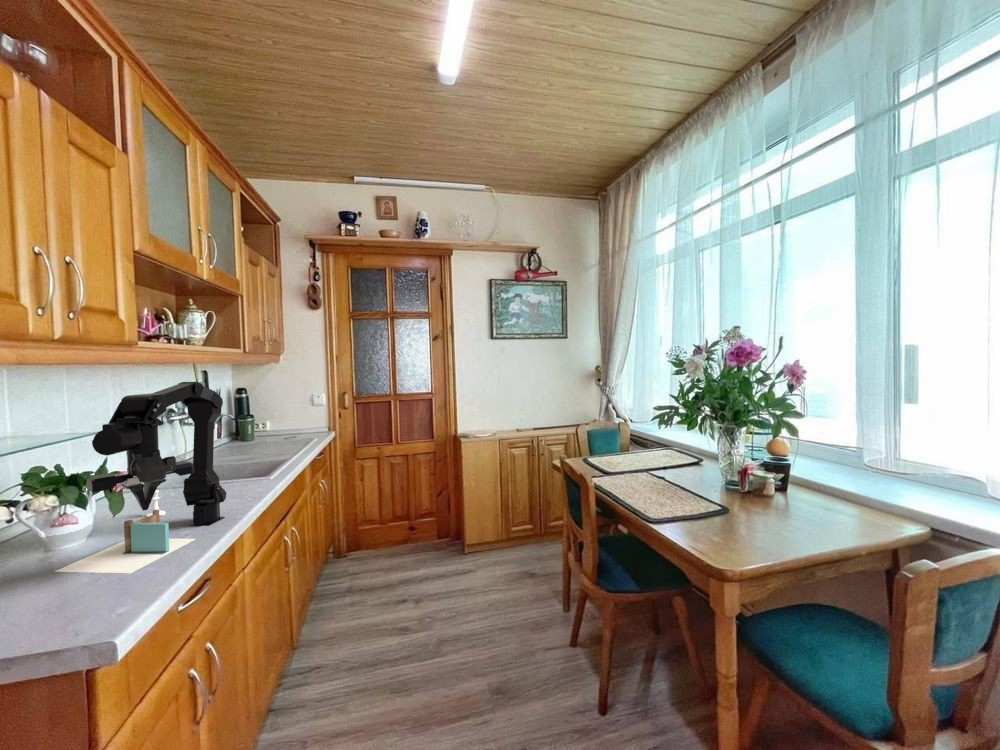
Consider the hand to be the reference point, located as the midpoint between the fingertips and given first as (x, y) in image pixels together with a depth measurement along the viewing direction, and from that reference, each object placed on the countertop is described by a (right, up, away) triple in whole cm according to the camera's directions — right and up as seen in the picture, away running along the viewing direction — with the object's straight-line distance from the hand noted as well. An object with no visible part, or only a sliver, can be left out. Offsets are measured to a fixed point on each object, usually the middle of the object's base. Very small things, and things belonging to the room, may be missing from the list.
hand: (145, 509), depth 96 cm
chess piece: (-25, -13, +31) cm, 42 cm away
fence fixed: (-8, -12, +9) cm, 17 cm away
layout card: (-7, -13, +4) cm, 15 cm away
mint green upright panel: (-3, -12, +5) cm, 13 cm away
